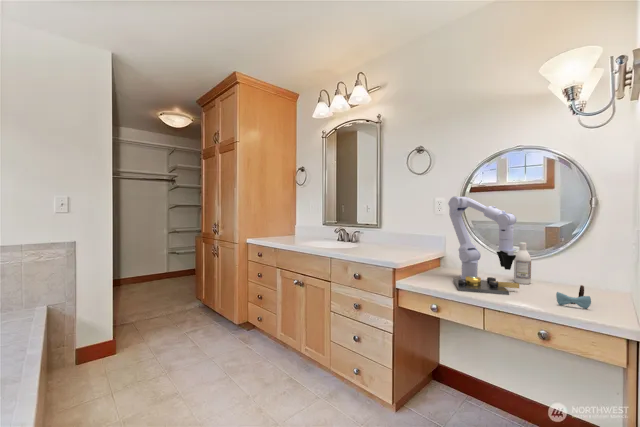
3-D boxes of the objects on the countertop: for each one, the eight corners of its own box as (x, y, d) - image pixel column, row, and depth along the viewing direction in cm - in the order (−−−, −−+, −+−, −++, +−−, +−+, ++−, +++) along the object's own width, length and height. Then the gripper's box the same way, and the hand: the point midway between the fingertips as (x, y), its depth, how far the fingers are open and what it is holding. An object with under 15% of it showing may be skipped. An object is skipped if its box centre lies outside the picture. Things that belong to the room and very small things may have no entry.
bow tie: (556, 305, 113) (556, 292, 112) (555, 304, 114) (556, 291, 114) (591, 310, 107) (591, 297, 107) (590, 309, 108) (590, 296, 108)
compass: (557, 297, 122) (558, 280, 121) (583, 301, 117) (583, 283, 116) (558, 303, 115) (558, 285, 115) (584, 307, 110) (585, 288, 110)
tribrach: (453, 281, 148) (453, 271, 148) (497, 284, 142) (498, 274, 142) (458, 290, 132) (458, 280, 131) (509, 294, 126) (509, 283, 125)
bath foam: (533, 284, 141) (534, 243, 140) (517, 284, 142) (518, 243, 141) (526, 281, 148) (527, 242, 147) (511, 280, 149) (512, 241, 148)
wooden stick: (490, 287, 131) (490, 282, 131) (488, 284, 135) (488, 280, 135) (520, 289, 128) (520, 284, 128) (517, 286, 131) (517, 282, 131)
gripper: (521, 241, 127) (521, 272, 127) (510, 237, 141) (510, 265, 141) (503, 240, 129) (502, 271, 129) (494, 237, 143) (493, 264, 143)
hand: (505, 268), depth 135 cm, fingers open, 5 cm apart
